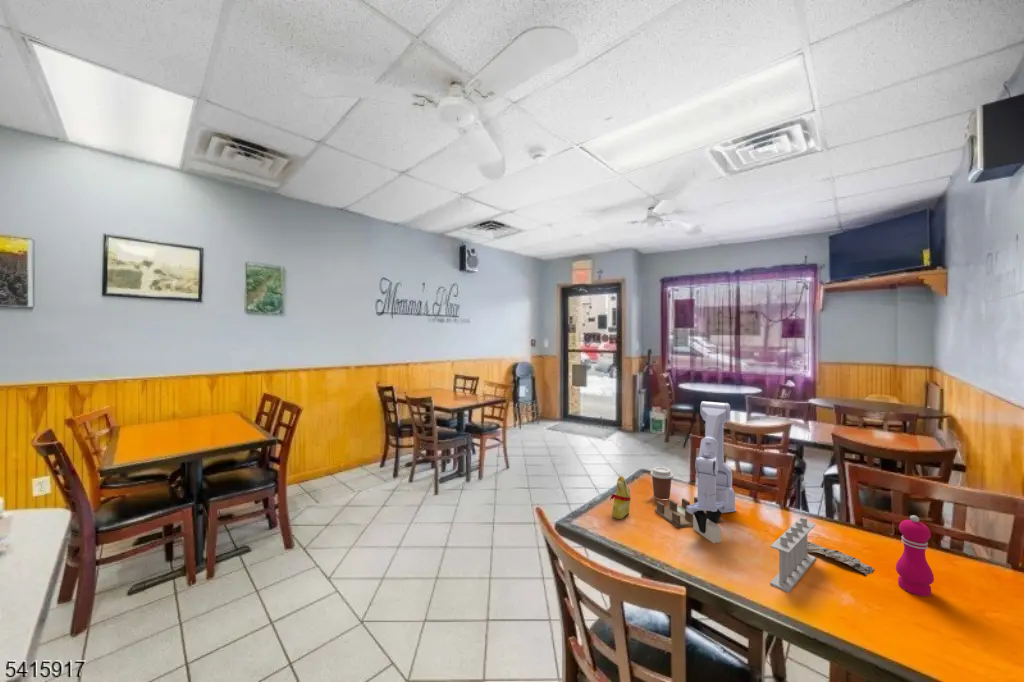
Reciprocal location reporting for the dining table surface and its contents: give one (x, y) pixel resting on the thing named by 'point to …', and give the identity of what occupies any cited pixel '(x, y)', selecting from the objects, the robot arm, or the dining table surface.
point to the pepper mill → (914, 558)
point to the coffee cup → (661, 482)
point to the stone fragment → (840, 557)
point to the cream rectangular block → (709, 530)
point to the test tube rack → (793, 555)
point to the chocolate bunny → (621, 499)
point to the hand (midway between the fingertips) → (706, 531)
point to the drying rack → (677, 513)
